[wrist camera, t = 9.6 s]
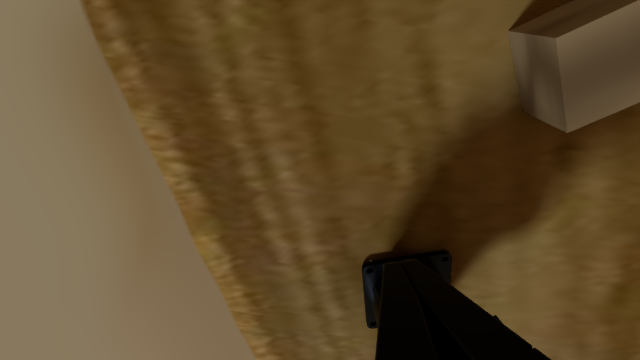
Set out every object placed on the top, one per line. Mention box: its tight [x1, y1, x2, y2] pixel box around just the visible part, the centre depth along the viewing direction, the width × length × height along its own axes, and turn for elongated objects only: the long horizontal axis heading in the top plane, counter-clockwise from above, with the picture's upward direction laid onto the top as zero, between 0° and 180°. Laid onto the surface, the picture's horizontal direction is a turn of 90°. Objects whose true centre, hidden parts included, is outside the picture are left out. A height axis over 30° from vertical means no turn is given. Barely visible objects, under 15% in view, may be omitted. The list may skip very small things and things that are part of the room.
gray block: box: [508, 0, 640, 133], centre depth 19 cm, size 5×5×4 cm
